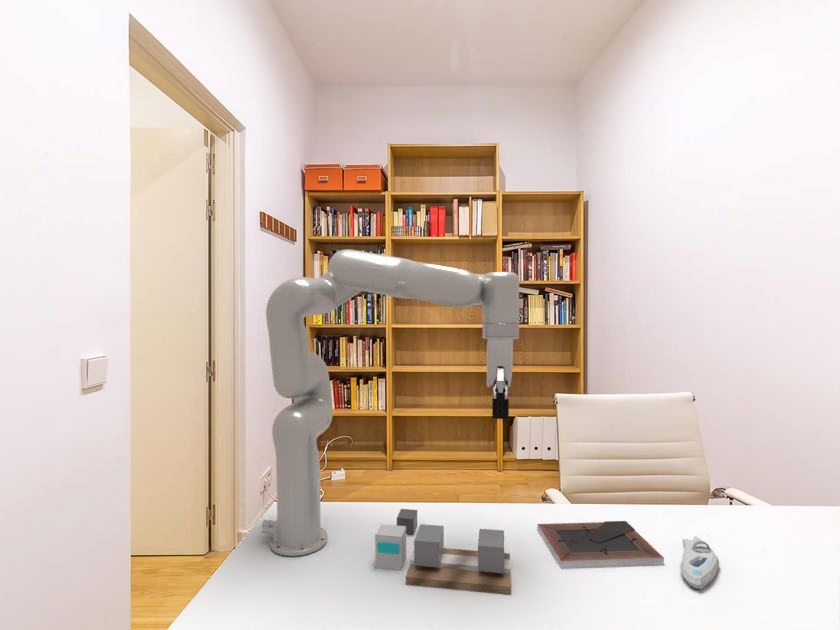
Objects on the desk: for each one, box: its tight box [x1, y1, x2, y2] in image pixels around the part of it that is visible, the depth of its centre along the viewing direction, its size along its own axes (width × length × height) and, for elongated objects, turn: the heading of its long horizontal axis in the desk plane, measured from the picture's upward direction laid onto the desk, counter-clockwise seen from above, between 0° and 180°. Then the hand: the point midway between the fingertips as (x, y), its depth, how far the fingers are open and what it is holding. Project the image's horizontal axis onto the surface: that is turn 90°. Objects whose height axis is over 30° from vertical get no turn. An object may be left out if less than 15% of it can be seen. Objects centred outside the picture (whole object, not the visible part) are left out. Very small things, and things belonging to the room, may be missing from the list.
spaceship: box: [679, 535, 720, 590], centre depth 100 cm, size 23×7×4 cm, turn 150°
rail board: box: [405, 547, 512, 596], centre depth 97 cm, size 20×12×2 cm, turn 80°
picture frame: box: [536, 520, 665, 570], centre depth 107 cm, size 16×2×22 cm
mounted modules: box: [413, 523, 505, 573], centre depth 97 cm, size 18×7×5 cm, turn 80°
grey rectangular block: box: [396, 508, 418, 536], centre depth 115 cm, size 4×5×4 cm
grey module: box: [374, 524, 407, 571], centre depth 100 cm, size 6×5×7 cm
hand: (500, 412), depth 101 cm, fingers open, 9 cm apart
